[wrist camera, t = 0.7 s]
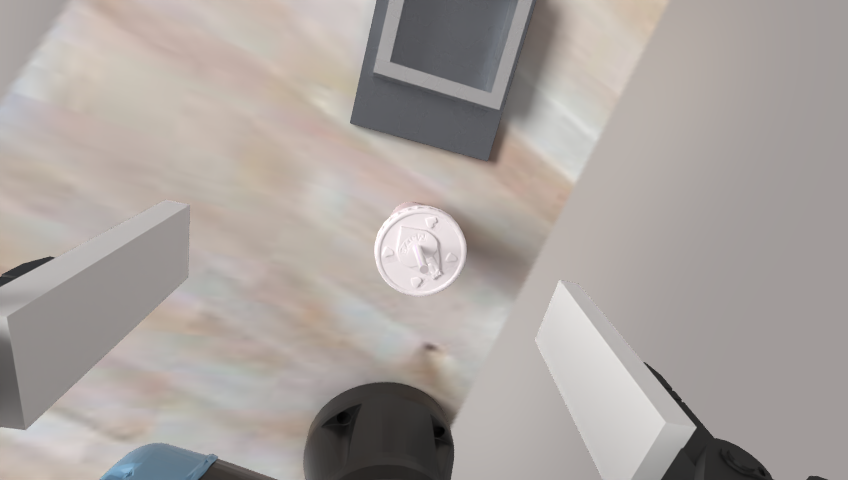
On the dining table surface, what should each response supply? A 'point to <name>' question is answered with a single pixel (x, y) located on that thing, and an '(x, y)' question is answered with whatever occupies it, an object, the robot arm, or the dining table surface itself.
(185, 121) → the dining table surface
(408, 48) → the collar
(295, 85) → the dining table surface
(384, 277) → the smoothie
